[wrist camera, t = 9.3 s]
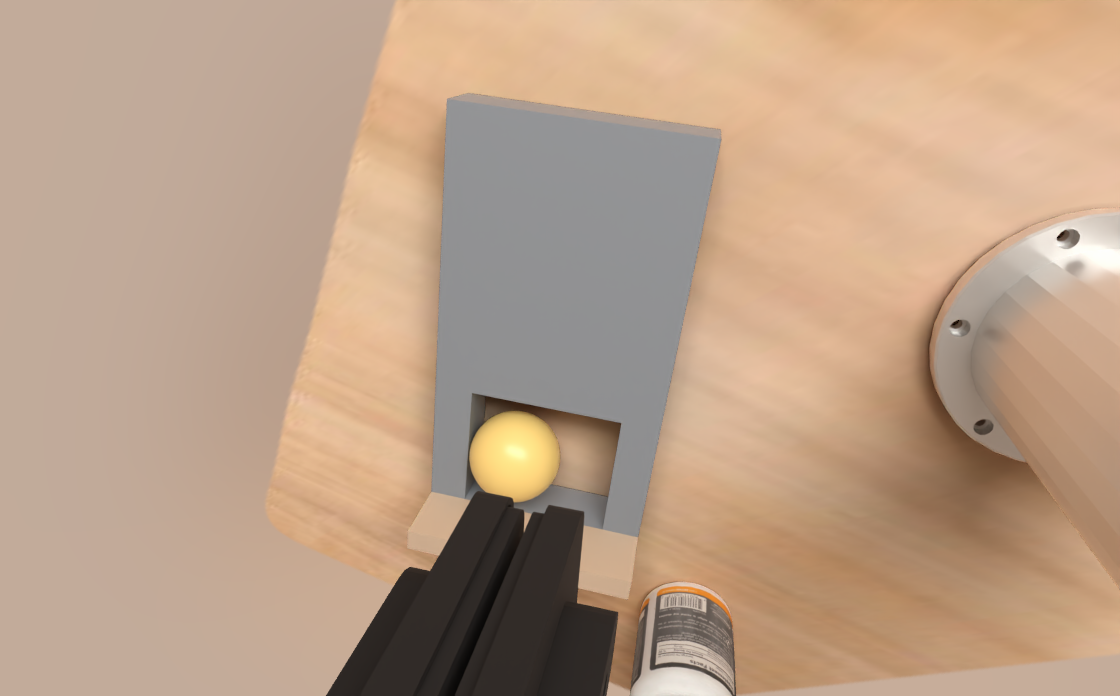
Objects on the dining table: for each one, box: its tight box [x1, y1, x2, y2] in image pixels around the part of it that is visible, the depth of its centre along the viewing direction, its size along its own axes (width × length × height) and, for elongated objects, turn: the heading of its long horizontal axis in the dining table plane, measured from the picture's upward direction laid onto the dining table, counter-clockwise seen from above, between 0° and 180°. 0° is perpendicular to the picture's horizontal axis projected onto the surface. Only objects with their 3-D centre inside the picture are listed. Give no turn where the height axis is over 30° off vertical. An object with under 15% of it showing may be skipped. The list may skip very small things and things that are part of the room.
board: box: [407, 93, 721, 600], centre depth 35 cm, size 12×24×6 cm, turn 174°
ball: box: [469, 411, 560, 502], centre depth 38 cm, size 5×5×5 cm
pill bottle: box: [630, 582, 736, 696], centre depth 39 cm, size 6×6×10 cm
